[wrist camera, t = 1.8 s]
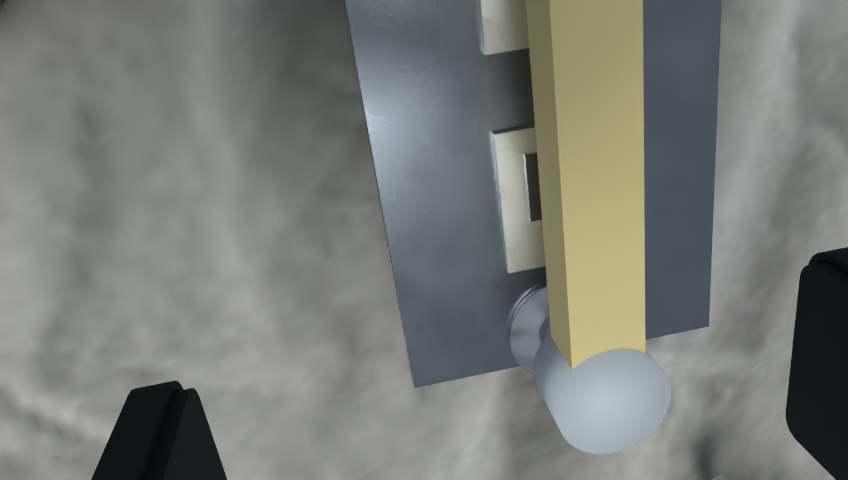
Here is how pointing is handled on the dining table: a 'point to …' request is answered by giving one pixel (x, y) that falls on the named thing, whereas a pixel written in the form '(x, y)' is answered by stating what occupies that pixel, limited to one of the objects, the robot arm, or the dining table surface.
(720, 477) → the mug
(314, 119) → the dining table surface
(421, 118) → the chassis
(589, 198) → the swing arm
